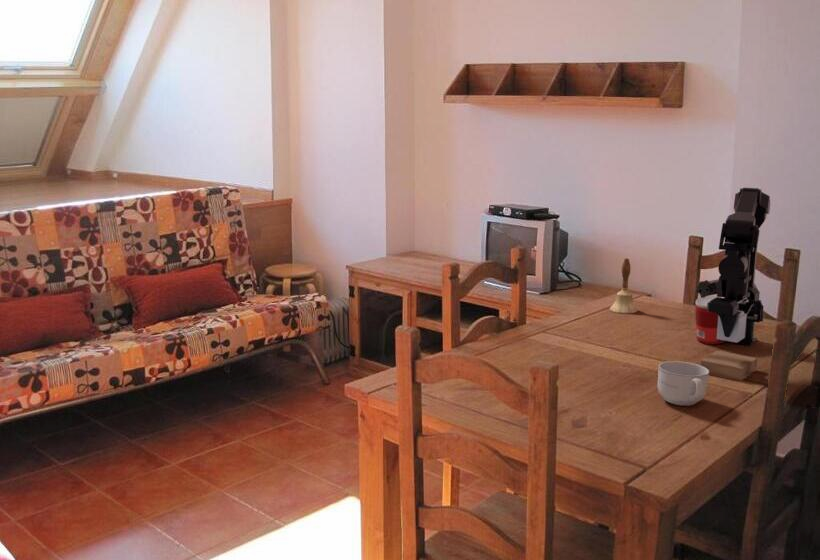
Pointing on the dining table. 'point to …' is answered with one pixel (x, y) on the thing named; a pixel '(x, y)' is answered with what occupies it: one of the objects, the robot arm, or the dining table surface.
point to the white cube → (738, 329)
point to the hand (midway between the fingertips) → (731, 334)
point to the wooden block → (729, 365)
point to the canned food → (706, 322)
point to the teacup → (682, 382)
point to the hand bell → (624, 293)
